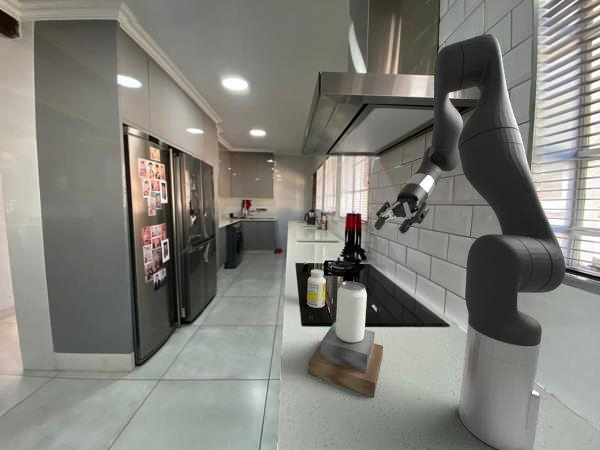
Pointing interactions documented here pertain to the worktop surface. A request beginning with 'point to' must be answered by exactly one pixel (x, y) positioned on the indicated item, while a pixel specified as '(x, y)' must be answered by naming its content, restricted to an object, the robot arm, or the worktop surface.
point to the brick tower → (348, 362)
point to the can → (351, 312)
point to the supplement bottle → (316, 289)
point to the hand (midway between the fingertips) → (388, 229)
